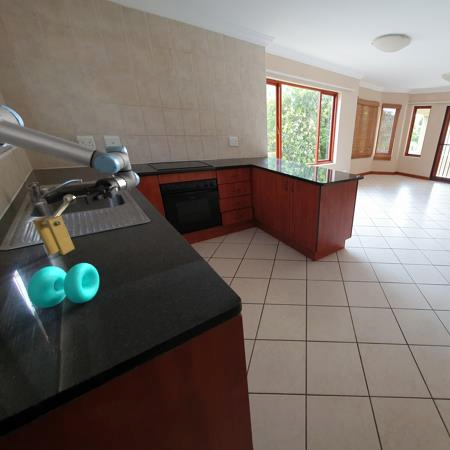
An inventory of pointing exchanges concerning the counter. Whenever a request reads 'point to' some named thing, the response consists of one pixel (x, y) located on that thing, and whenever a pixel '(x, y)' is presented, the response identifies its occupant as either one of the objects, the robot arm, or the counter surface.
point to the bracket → (54, 235)
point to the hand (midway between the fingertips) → (66, 200)
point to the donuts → (63, 285)
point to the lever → (61, 208)
